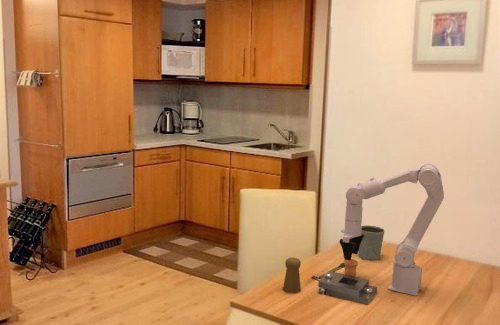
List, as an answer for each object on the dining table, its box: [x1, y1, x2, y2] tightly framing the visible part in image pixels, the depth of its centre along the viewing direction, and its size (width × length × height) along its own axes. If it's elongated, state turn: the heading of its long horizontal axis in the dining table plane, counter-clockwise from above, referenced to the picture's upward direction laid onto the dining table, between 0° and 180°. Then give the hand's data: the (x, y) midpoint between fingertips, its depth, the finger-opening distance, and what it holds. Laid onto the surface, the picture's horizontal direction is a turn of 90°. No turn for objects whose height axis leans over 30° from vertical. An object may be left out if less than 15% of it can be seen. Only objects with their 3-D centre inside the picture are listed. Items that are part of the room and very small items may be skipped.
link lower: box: [325, 283, 378, 305], centre depth 169 cm, size 14×11×3 cm
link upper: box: [317, 270, 370, 297], centre depth 171 cm, size 14×11×5 cm
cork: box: [282, 257, 302, 294], centre depth 171 cm, size 6×6×11 cm
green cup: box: [357, 225, 385, 262], centre depth 205 cm, size 10×10×12 cm
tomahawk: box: [311, 262, 345, 282], centre depth 187 cm, size 21×7×1 cm, turn 137°
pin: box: [343, 258, 359, 277], centre depth 181 cm, size 5×5×7 cm
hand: (351, 256), depth 180 cm, fingers open, 7 cm apart
